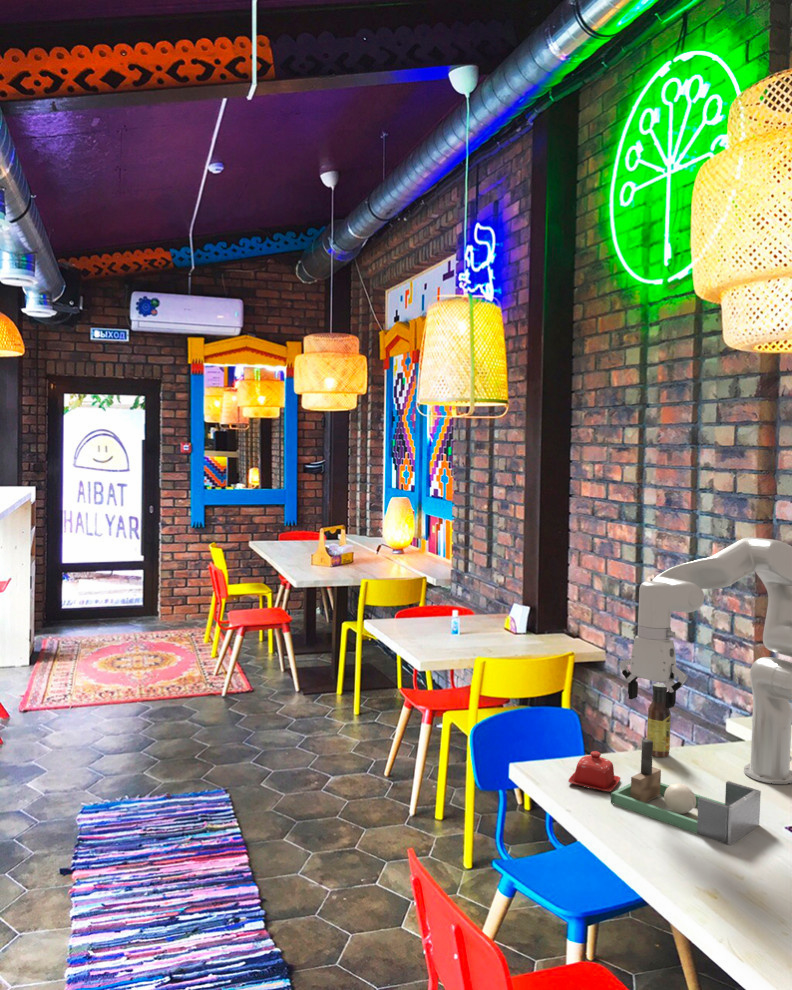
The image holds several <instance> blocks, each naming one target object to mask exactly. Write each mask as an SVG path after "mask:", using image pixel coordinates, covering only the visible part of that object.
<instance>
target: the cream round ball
mask: <svg viewBox="0 0 792 990" xmlns="http://www.w3.org/2000/svg"><path fill="white" fill-rule="evenodd" d="M695 794H696V793H695V792H693V790H692V789H691V788H690V787H689V786H688V785H686V784H683V783H677V782H676V783H671V784H670V785H669V787H668V788H667V789H666V791H665V794H664V795H663V801H664V804H665V806H666V807H667V809H668V810H669V811H671V812H674V813H677V814H680V815H683V814H687V813H689V812H691V811H692V810H693V809H694V808H695V807H697V806H696V797H695Z"/></svg>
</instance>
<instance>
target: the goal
mask: <svg viewBox="0 0 792 990" xmlns="http://www.w3.org/2000/svg"><path fill="white" fill-rule="evenodd" d="M761 792H762V791H761V790H759V789H756V788H753V787H750V786H746V785H743V784H739V783H736V782H732V781H730V780H727V781H726V782H725V795H724V796H725V798H724V800H725V801H724V803H725V805H724V804H720V803H717V802H714V801H711V800H708V799H705V798H702V797H700V798H699V799H698V807H697V833H696V834H697V835H700V836H703V837H705V838H709V839H712V840H713V841H716V842H719V843H722V844H726V845H727V846H731V845H733V844H734V843H736V842H737V841H738V840H740V839H742V838H743V837H744V836H746V835H747V834H748V833H750V832H751V831H753V830H754V829H756V828H757V827H758V826H760V814H761V813H760V812H761V811H760V810H761V795H762V793H761Z"/></svg>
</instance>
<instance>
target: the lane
mask: <svg viewBox="0 0 792 990" xmlns="http://www.w3.org/2000/svg"><path fill="white" fill-rule="evenodd" d="M669 786H670V785H668V784H665V783H663V782H661V783H660V795H661V796H664V794H665V791H666V789H667V788H668V787H669ZM694 794H695V797H696V806H695V807H697V808H698V799H699V798H700V797H702V798H705V799H708V800H711V801H714V802H717V803H720V804H724V805H725V802H721V801H719V800H715V799H712V798H709V797H706V796H703V795H700V794H696V793H694ZM610 803H611V804H613V803H614V805H616V806H619V807H622V808H624V809H627V810H630V811H633V812H636V813H639V814H642V815H644V816H647V817H649V818H652V819H656V820H658V821H661V822H663V823H666V824H670V825H672V826H675V827H677V828H680V829H684V830H686V831H689V832H691V833H694V834H697V821H698V819H697V820H696V819H694V818H691V817H687V816H685V815H683V814H678V813H674V812H673V811H671V810H669V809H668V810H667V809H664V808H662V807H660V806H656V805H653V804H651V803H648V802H646V803H645V802H642V801H639V800H636V799H633V798H631V782H630V783H628V784H626V785H624V786H622V787H621V788H619V789H616V790H615V791H613V792H612V791H611V793H610Z"/></svg>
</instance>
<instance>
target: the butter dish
mask: <svg viewBox="0 0 792 990" xmlns="http://www.w3.org/2000/svg"><path fill="white" fill-rule="evenodd" d="M614 768H615V767H614V764H613V762H612V761H610V760H609V759H607V758H605V757H601V753H600V752H599V751H598V750H595V751H591V752H590V755H584V756H582V757H581V758H580V759H579V760H578V761H577V764H576V768H575V771H574V772H573V774H572V775H570V777H569V778H568V783H570V784H573V785H576V786H578V785H580V786H579V787H582V786H585V787H584V788H587V787H589V789H592V788H594V789H593V790H596V789H598V790H597V791H601V790H602V791H603V792H612V791H613V790H614V789H615V788H616V786H617V785H618V784H619V782H620V780H621V777H620V776H618V775H615V769H614Z"/></svg>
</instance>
